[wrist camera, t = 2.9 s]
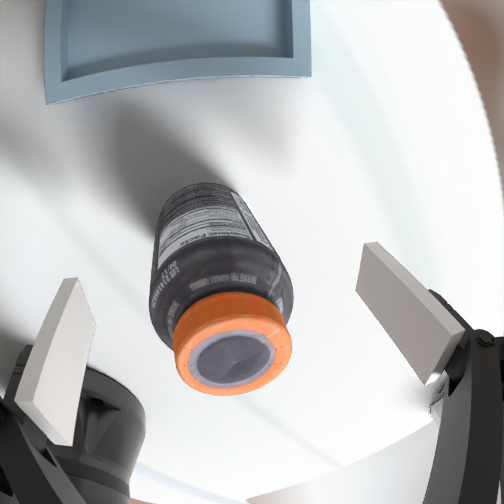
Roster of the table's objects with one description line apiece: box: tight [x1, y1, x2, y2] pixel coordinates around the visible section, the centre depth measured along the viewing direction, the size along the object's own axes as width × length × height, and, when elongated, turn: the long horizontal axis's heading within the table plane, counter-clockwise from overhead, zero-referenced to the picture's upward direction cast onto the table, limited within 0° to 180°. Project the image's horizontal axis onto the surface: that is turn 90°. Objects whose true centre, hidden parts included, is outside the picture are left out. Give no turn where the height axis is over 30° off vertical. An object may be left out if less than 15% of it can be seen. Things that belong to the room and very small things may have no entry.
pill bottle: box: [149, 183, 294, 396], centre depth 15 cm, size 6×6×11 cm
